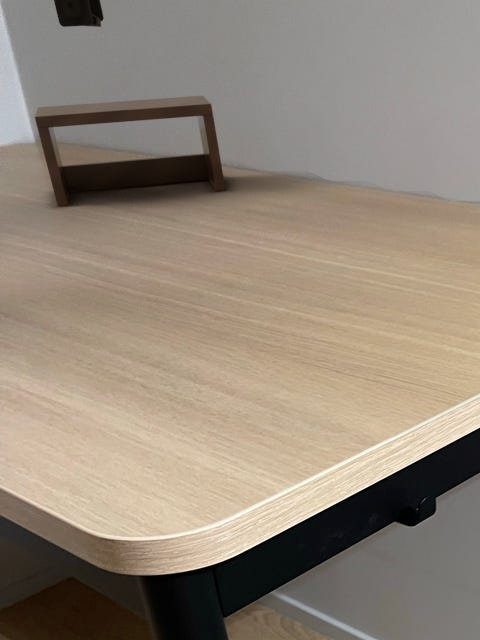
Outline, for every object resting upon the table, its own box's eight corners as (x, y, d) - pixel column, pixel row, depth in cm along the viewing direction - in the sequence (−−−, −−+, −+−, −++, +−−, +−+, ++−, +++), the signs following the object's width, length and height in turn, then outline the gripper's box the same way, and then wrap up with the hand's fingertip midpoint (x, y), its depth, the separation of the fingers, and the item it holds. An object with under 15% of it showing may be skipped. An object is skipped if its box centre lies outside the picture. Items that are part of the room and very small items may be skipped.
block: (67, 31, 100) (62, 10, 99) (65, 28, 104) (61, 8, 103) (104, 29, 101) (99, 8, 100) (101, 26, 105) (97, 6, 104)
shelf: (57, 206, 119) (34, 116, 114) (59, 191, 127) (37, 107, 121) (225, 190, 124) (211, 103, 118) (217, 177, 132) (203, 95, 126)
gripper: (10, -192, 99) (61, 21, 109) (-36, -216, 85) (27, 31, 95) (88, -194, 99) (131, 17, 110) (55, -218, 85) (107, 27, 96)
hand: (82, 22), depth 102 cm, fingers closed on block, 6 cm apart
